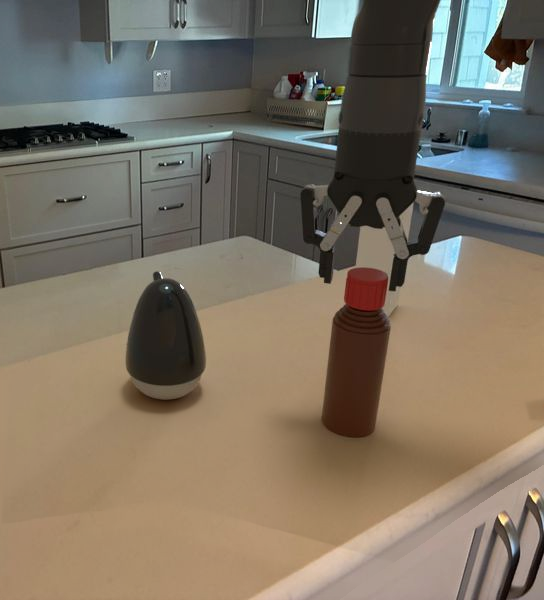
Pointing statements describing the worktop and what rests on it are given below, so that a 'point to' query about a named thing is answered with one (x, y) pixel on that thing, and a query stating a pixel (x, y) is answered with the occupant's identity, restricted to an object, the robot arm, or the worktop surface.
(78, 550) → the worktop surface
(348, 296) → the cap
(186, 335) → the dark grey egg-shaped piece
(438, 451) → the worktop surface
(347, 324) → the bottle
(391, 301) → the milk
